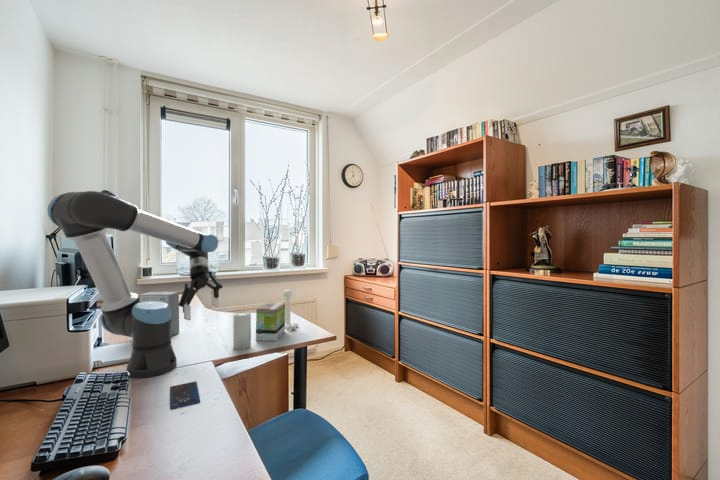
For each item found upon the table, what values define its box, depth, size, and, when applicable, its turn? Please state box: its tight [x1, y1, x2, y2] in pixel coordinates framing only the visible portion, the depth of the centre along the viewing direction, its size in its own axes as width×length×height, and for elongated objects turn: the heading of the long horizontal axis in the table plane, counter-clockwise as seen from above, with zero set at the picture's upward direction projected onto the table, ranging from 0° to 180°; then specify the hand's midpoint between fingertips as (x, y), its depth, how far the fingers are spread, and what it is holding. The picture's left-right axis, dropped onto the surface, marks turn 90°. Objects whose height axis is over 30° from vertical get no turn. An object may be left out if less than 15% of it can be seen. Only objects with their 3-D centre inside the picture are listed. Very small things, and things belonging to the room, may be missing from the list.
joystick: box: [283, 289, 299, 331], centre depth 169 cm, size 11×8×20 cm
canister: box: [232, 312, 252, 351], centre depth 140 cm, size 7×7×14 cm
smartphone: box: [169, 381, 201, 410], centre depth 98 cm, size 8×1×15 cm
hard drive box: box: [138, 291, 180, 337], centre depth 155 cm, size 16×8×20 cm, turn 84°
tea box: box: [255, 302, 286, 342], centre depth 155 cm, size 15×10×15 cm
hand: (201, 312), depth 132 cm, fingers open, 13 cm apart
